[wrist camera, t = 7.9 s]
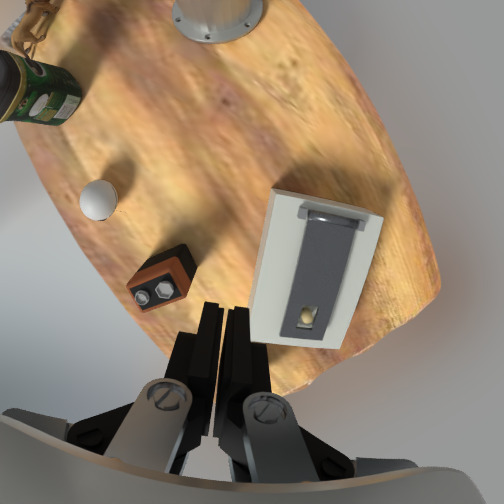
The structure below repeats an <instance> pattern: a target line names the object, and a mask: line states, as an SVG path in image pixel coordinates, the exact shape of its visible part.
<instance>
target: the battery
mask: <svg viewBox="0 0 504 504" xmlns="http://www.w3.org/2000/svg"><path fill="white" fill-rule="evenodd" d="M196 270H197V266H196V264H195V262H194V260H193V258H192V256H191V254H190V252H189V250H188V248H187V246H186V244H181V245H178V246H176V247H174V248H171V249H169V250H167V251H164V252H162V253H160V254H158V255H155V256H153V257H151V258H149V259H147V260H146V261H145V263H144V264H143V265H142V266H141V267H140V269H139V270H138V271H137V272H136V273H135V275H134V276H133V277H132V278H131V279H130V281H129V282H128V283H127V285H126V288H127V289H128V291H129V293H130V295H131V296H132V298H133V300H134V301H135V303H136V305H137V306H138V308H139V310H140V311H141V312H142V313H145V312H148V311H151V310H153V309H156V308H159V307H162V306H164V305H167V304H170V303H173V302H175V301H178V300H181V299H183V298H185V297H186V296H187V293H188V291H189V288H190V286H191V283H192V280H193V278H194V275H195V273H196Z"/></svg>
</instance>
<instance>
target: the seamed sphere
mask: <svg viewBox="0 0 504 504" xmlns="http://www.w3.org/2000/svg"><path fill="white" fill-rule="evenodd" d="M117 203H118V195H117V192H116V189H115V188H114V186H113V185H112V184H111V183H109V182H108V181H105V180H94V181H92V182H90V183H88V184H87V185H86V186H85V187H84V189H83V191H82V192H81V196H80V207H81V210H82V212H83V213H84V214H85V215H86V216H87V217H88V218H90V219H92V220H97V221H104V220H106V219H107V218H108V217H110V216H111V215H112V214H113V212H114V211H115V209H116V207H117ZM116 211H117V210H116ZM120 212H121V211H120ZM125 213H126V212H125Z"/></svg>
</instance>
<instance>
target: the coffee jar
mask: <svg viewBox="0 0 504 504" xmlns="http://www.w3.org/2000/svg"><path fill="white" fill-rule="evenodd" d="M81 96H82V91H81V88H80V86H79V84H78V83H77V81H76V80H75V78H74V77H73V76H72V75H71V74H70V73H69V72H68V71H67V70H65V69H63V68H60V67H57V66H53V65H49V64H45V63H42V62H38V61H35V60H31V59H27V58H24V57H21V56H18V55H16V54H13V53H11V52H8V51H4V50H0V123H2V122H4V121H21V122H31V123H38V124H44V125H54V126H57V125H60V124H62V123H64V122H65V121H66V120H67V119H68V118H69V117H70V116H71V115H72V114H73V112H74V111H75V110H76V108H77V106H78V105H79V103H80V100H81Z"/></svg>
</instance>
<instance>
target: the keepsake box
mask: <svg viewBox="0 0 504 504" xmlns="http://www.w3.org/2000/svg"><path fill="white" fill-rule="evenodd" d="M309 209H311V210H316V211H321V212H326V213H330V214H335V215H340V216H344V217H349V218H353V219H357V220H358V225H357V228H356V229H355V233H354V237H353V241H352V245H351V249H350V252H349V256H348V260H347V264H346V267H345V271H344V274H343V278H342V281H341V284H340V288H339V291H338V294H337V298H336V301H335V304H334V307H333V310H332V314H331V317H330V320H329V323H328V326H327V329H326V332H325V334H324V337H323V340H322V341H320V340H308V339H297V338H287V337H279V332H280V328H281V324H282V321H283V317H284V313H285V309H286V305H287V301H288V297H289V293H290V289H291V285H292V281H293V277H294V273H295V269H296V264H297V260H298V256H299V252H300V247H301V243H302V238H303V234H304V229H305V225H306V220H307V213H308V210H309ZM383 219H384V217H382V216H380V215H378V214H376V213H374V212H372V211H370V210H368V209H366V208H362V207H358V206H354V205H350V204H345V203H341V202H337V201H333V200H328V199H324V198H319V197H314V196H310V195H305V194H300V193H295V192H290V191H285V190H280V189H275V188H271V191H270V196H269V201H268V206H267V211H266V216H265V221H264V226H263V231H262V236H261V241H260V246H259V251H258V256H257V261H256V266H255V271H254V276H253V281H252V286H251V291H250V296H249V301H248V306H247V308H249V311H250V337H251V341H255V342H263V343H272V344H281V345H292V346H303V347H315V348H330V349H339V348H340V346H341V344H342V341H343V339H344V336H345V334H346V331H347V329H348V326H349V324H350V321H351V319H352V316H353V313H354V311H355V308H356V305H357V302H358V300H359V297H360V294H361V291H362V288H363V285H364V282H365V279H366V276H367V273H368V270H369V267H370V264H371V261H372V258H373V254H374V251H375V248H376V244H377V241H378V238H379V234H380V230H381V227H382V223H383ZM317 308H318V307H316V306H308V305H303V307H302V310H301V314H300V317H299V321H298V324H297V326H298V327H307V328H311V327H312V324H313V321H314V317H315V314H316V311H317Z"/></svg>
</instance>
